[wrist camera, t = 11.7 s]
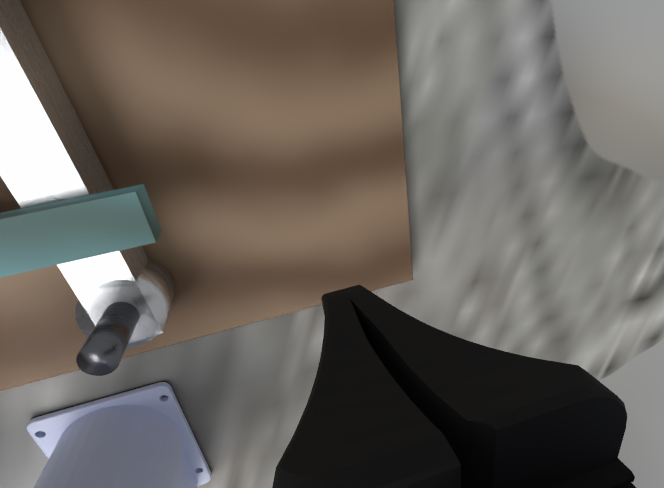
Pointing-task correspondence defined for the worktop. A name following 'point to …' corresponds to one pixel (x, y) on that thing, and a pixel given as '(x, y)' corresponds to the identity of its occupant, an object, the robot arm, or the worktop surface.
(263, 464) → the worktop surface
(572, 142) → the worktop surface
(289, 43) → the board
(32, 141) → the link
